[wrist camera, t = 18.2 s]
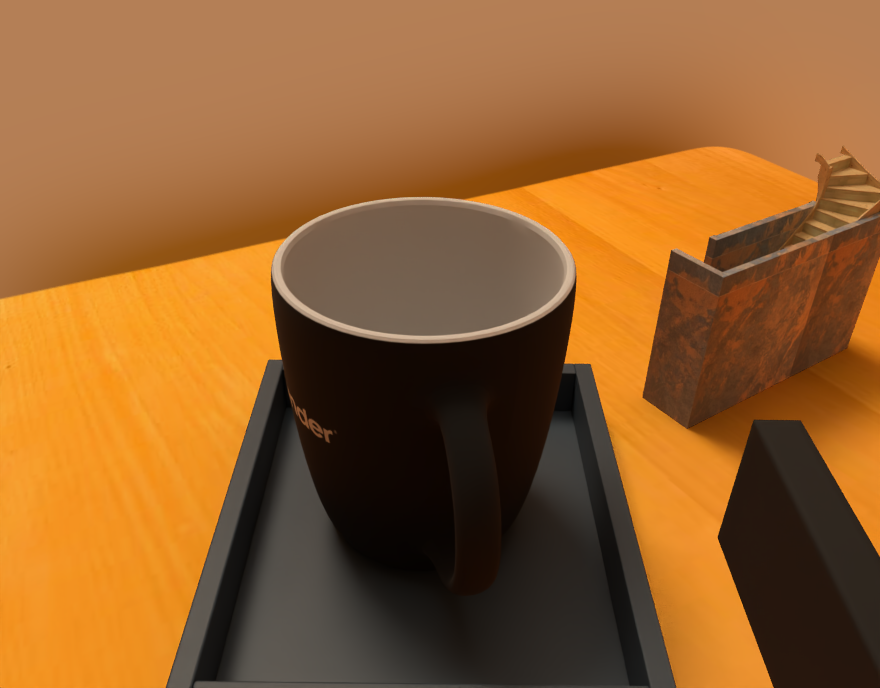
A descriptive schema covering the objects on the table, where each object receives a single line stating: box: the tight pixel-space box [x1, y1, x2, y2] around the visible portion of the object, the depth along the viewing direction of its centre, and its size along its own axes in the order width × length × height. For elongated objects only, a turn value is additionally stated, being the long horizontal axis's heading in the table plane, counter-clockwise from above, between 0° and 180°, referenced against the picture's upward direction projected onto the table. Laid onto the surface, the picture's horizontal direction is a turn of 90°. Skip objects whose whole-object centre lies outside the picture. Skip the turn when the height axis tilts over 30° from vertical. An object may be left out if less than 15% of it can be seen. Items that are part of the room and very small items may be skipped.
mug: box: [271, 197, 576, 596], centre depth 25 cm, size 12×9×10 cm
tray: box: [166, 360, 676, 688], centre depth 28 cm, size 13×15×2 cm
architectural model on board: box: [643, 146, 880, 429], centre depth 35 cm, size 11×3×10 cm, turn 124°
